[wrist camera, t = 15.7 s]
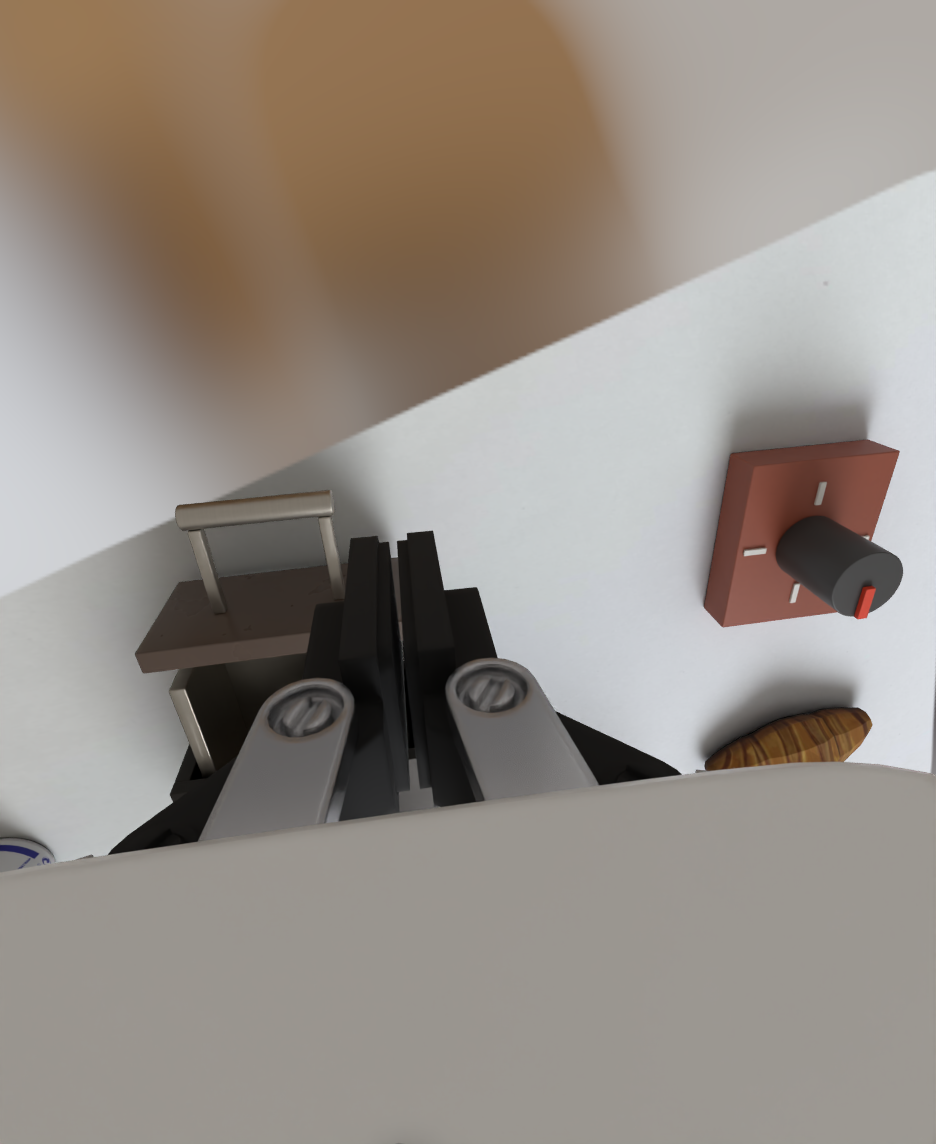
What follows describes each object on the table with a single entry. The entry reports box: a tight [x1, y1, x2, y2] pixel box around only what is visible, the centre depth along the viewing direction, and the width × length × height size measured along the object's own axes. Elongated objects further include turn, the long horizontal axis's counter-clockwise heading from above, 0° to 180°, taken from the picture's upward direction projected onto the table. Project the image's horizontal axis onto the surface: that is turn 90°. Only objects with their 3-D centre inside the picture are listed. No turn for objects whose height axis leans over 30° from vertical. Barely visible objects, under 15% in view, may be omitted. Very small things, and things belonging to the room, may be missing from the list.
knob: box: [776, 516, 903, 619], centre depth 33 cm, size 4×4×5 cm
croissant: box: [705, 707, 872, 771], centre depth 45 cm, size 14×7×5 cm, turn 109°
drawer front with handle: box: [135, 490, 412, 778], centre depth 32 cm, size 19×12×7 cm, turn 3°
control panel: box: [704, 440, 899, 627], centre depth 36 cm, size 11×9×3 cm
